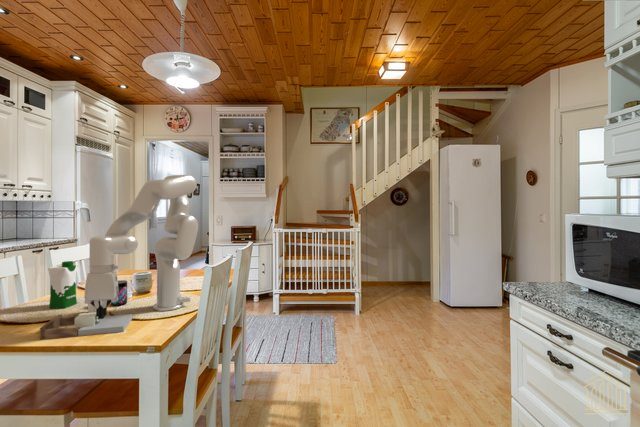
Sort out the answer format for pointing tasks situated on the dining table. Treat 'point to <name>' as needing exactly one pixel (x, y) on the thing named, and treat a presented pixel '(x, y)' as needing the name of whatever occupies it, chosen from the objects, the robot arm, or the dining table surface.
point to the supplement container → (121, 293)
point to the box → (54, 331)
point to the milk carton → (63, 285)
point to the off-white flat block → (86, 319)
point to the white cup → (92, 308)
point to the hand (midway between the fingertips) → (101, 317)
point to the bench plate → (107, 325)
